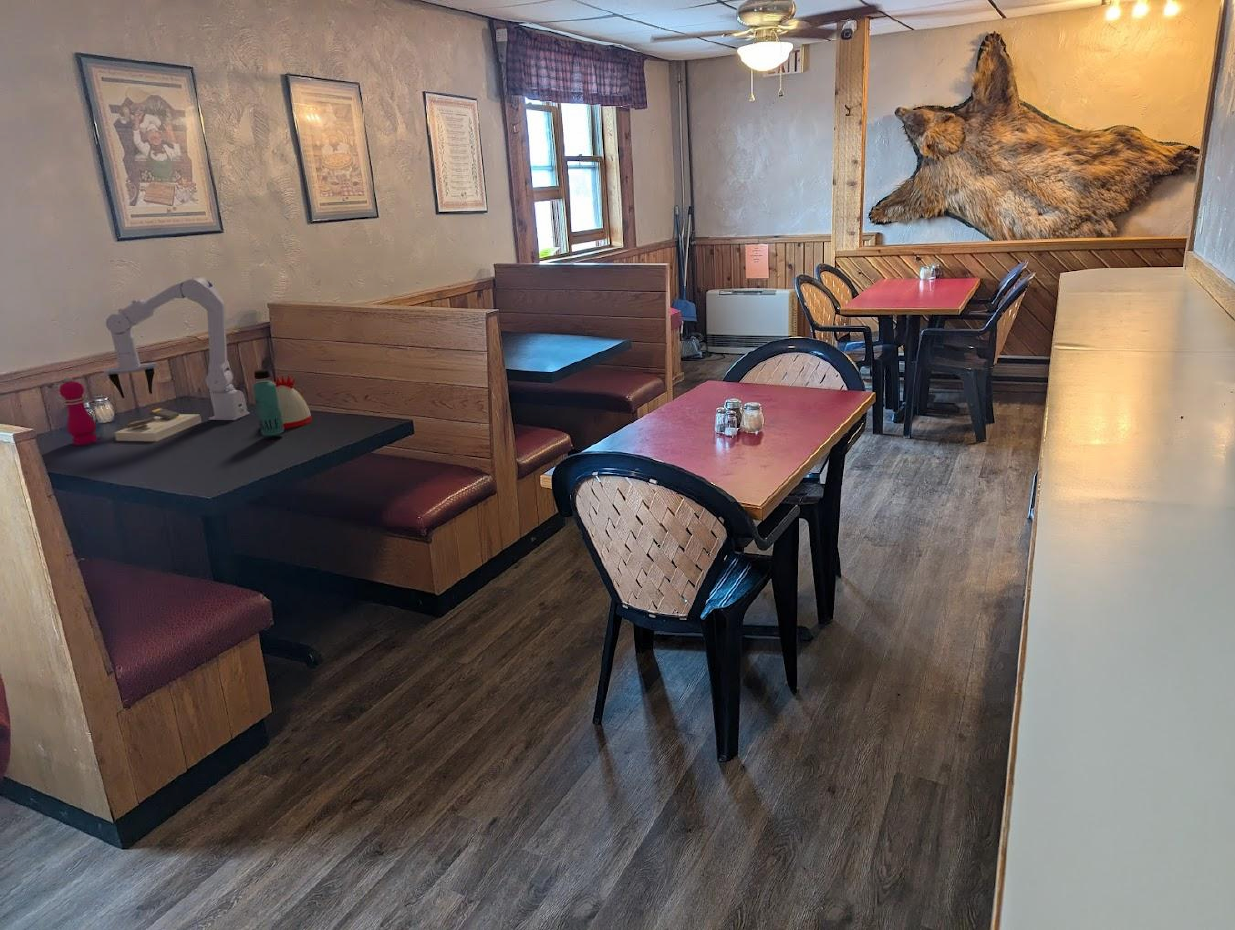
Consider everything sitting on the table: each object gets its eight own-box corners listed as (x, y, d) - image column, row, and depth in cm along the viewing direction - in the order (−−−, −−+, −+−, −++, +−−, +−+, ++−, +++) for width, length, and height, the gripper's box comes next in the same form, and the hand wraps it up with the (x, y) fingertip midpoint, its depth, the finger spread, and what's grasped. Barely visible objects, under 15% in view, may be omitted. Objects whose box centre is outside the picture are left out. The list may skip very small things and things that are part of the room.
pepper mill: (86, 446, 250) (68, 379, 243) (65, 445, 251) (47, 379, 245) (105, 438, 257) (88, 373, 250) (84, 438, 258) (67, 373, 252)
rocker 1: (155, 420, 257) (154, 416, 257) (146, 424, 253) (144, 420, 253) (137, 424, 259) (135, 421, 259) (127, 428, 255) (126, 425, 255)
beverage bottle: (278, 432, 253) (265, 366, 247) (290, 436, 249) (277, 368, 243) (257, 438, 248) (244, 371, 242) (269, 441, 244) (256, 373, 238)
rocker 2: (178, 415, 267) (178, 412, 266) (170, 419, 263) (169, 416, 263) (159, 411, 268) (158, 407, 267) (149, 414, 264) (149, 411, 264)
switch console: (201, 422, 269) (199, 412, 268) (156, 441, 251) (154, 431, 250) (163, 421, 272) (161, 412, 271) (116, 440, 254) (113, 430, 253)
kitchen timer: (311, 425, 259) (302, 377, 254) (262, 431, 255) (253, 382, 251) (311, 414, 272) (303, 368, 267) (265, 420, 268) (256, 373, 263)
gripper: (151, 347, 268) (161, 389, 273) (99, 354, 261) (110, 396, 266) (153, 350, 263) (163, 393, 267) (99, 357, 256) (110, 401, 260)
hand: (137, 395), depth 266 cm, fingers open, 7 cm apart
